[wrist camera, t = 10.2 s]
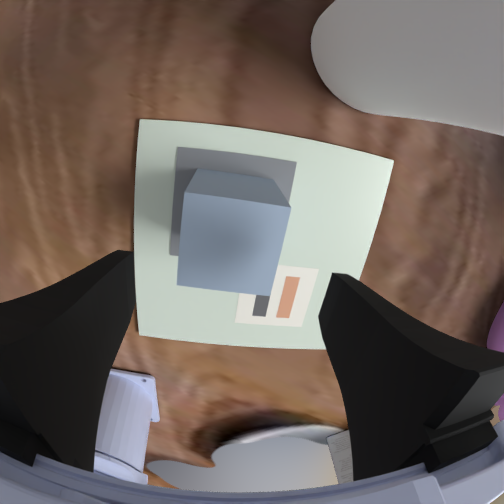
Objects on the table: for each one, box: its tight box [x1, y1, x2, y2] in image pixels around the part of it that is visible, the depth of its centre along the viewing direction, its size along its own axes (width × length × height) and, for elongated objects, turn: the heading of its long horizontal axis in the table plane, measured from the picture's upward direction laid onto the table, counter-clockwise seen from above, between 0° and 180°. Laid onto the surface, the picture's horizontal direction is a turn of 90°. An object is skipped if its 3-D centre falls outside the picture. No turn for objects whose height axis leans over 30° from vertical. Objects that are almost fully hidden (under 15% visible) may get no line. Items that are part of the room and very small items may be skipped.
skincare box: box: [327, 430, 353, 484], centre depth 28 cm, size 6×4×12 cm
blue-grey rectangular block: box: [177, 168, 291, 296], centre depth 16 cm, size 4×4×6 cm
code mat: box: [134, 119, 394, 349], centre depth 20 cm, size 16×16×1 cm
